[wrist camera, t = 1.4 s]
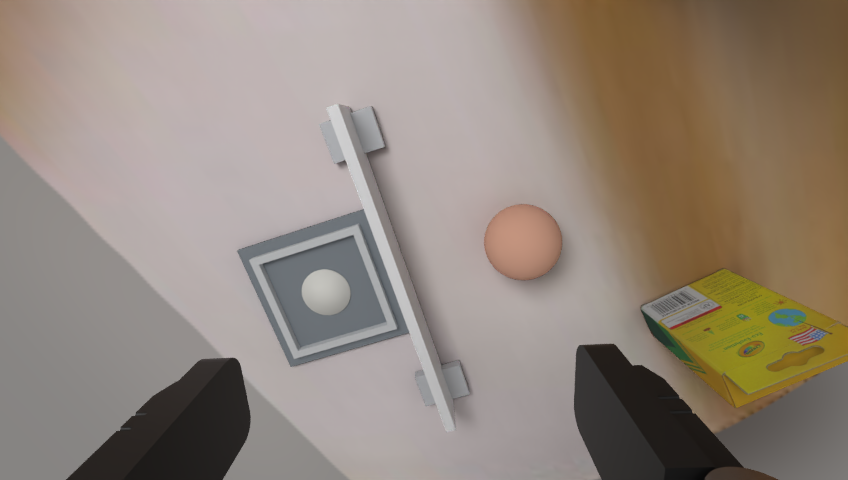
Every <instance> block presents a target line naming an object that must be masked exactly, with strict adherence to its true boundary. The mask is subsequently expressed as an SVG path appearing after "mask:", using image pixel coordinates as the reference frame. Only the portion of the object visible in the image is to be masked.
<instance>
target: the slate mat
mask: <svg viewBox="0 0 848 480" xmlns="http://www.w3.org/2000/svg"><path fill="white" fill-rule="evenodd" d="M237 252H238V254H239V256H240V258H241V260H242V262H243V265H244V267H245V269H246V271H247V273H248V275H249V278H250V280H251V282H252V284H253V286H254V288H255V291H256V293H257V295H258V297H259V299H260V301H261V303H262V306H263V308H264V310H265V312H266V314H267V316H268V319H269V321H270V323H271V325H272V327H273V329H274V332H275V334H276V336H277V338H278V340H279V342H280V345H281V347H282V349H283V351H284V353H285V355H286V358H287V360H288V362H289V364H290V366H291V367H292V366H295V365H299V364H302V363H306V362H309V361H313V360H316V359H320V358H323V357H326V356H330V355H333V354H337V353H340V352H344V351H347V350H351V349H354V348H357V347H361V346H364V345H368V344H371V343H375V342H378V341H382V340H385V339H388V338H392V337H395V336H399V335H402V334H406V333H409V330H408V328H407V325H406V322H405V320H404V317H403V314H402V311H401V309H400V306H399V303H398V301H397V298H396V295H395V293H394V290H393V287H392V284H391V282H390V279H389V276H388V274H387V271H386V268H385V266H384V263H383V260H382V257H381V255H380V252H379V249H378V247H377V244H376V241H375V239H374V236H373V233H372V230H371V228H370V225H369V222H368V220H367V217H366V214H365V212H364V209H363V210H360V211H357V212H353V213H350V214H347V215H344V216H341V217H338V218H335V219H332V220H329V221H326V222H323V223H320V224H316V225H313V226H310V227H307V228H304V229H301V230H298V231H295V232H292V233H289V234H286V235H283V236H279V237H276V238H273V239H270V240H267V241H264V242H261V243H258V244H255V245H252V246H249V247H246V248H242V249H239V250H238V251H237Z"/></svg>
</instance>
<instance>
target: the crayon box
mask: <svg viewBox="0 0 848 480" xmlns="http://www.w3.org/2000/svg"><path fill="white" fill-rule="evenodd" d="M641 311H642V313H643V315H644V318H645V320H646V322H647V324H648V327H649V329H650V331H651V333H652V335H653V336H655V337H656V338H657V339H658V340H659V341H660V342H661V343H663V344H664V345H665V346H666V347H667V348H668V349H669V350H670V351H671V352H673V353H674V354H675V355H676V356H677V357H678V358H679V359H680V360H681V361H683V362H684V363H685V364H686V365H687V366H688V367H689V368H690V369H691V370H692V371H694V372H695V373H696V374H697V375H698V376H699V377H700V378H701V379H703V380H704V381H705V382H706V383H707V384H708V385H709V386H710V387H711V388H713V389H714V390H715V391H716V392H717V393H718V394H719V395H720V396H722V397H723V398H724V399H725V400H726V401H727V402H728V403H729V404H731V405H732V406H733V407H734V408H738V407H740V406H742V405H745V404H747V403H749V402H752V401H754V400H756V399H759V398H761V397H763V396H766V395H768V394H770V393H773V392H775V391H778V390H780V389H782V388H785V387H787V386H790V385H792V384H794V383H796V382H799V381H802V380H804V379H806V378H808V377H811V376H813V375H816V374H818V373H820V372H823V371H825V370H827V369H830V368H832V367H835V366H837V365H839V364H842V363H844V362H846V361H848V327H847V326H845V325H843V324H842V323H840V322H838V321H836V320H834V319H832V318H830V317H828V316H825V315H823V314H821V313H819V312H817V311H815V310H812V309H810V308H808V307H806V306H804V305H802V304H800V303H798V302H795V301H793V300H791V299H789V298H787V297H785V296H782V295H780V294H778V293H776V292H774V291H771V290H769V289H767V288H765V287H763V286H761V285H759V284H756V283H754V282H752V281H750V280H748V279H746V278H744V277H741V276H739V275H737V274H735V273H733V272H731V271H729V270H727V269H724V268H723V269H721V270H718V271H717V272H716V273H714V274H712V275H710V276H707V277H705V278H703V279H701V280H698V281H696V282H694V283H692V284H689V285H687V286H685V287H683V288H680V289H678V290H676V291H674V292H672V293H670V294H667V295H665V296H663V297H661V298H659V299H657V300H655V301H653V302H651V303H648V304H644V305H642V306H641Z"/></svg>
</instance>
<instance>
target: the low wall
mask: <svg viewBox="0 0 848 480" xmlns="http://www.w3.org/2000/svg"><path fill="white" fill-rule="evenodd" d="M326 109H327V112H328V114H329V117H330V120H329V121H326V122H323V123H320V124H319V125H320V128H321V131H322V133H323V136H324V139H325V141H326V144H327V147H328V149H329V152H330V155H331V157H332V160H333V162H334V164H335V163H338V162H341V161H344V160H346V163H347V166H348V168H349V171H350V174H351V176H352V179H353V182H354V185H355V187H356V190H357V193H358V195H359V198H360V201H361V203H362V206H363V209H364V212H365V214H366V217H367V220H368V222H369V225H370V228H371V230H372V233H373V236H374V239H375V241H376V244H377V247H378V249H379V252H380V255H381V257H382V260H383V263H384V266H385V268H386V271H387V274H388V276H389V279H390V282H391V284H392V287H393V290H394V293H395V295H396V298H397V301H398V303H399V306H400V309H401V311H402V314H403V317H404V320H405V322H406V325H407V328H408V330H409V333H410V336H411V338H412V341H413V344H414V347H415V349H416V352H417V355H418V357H419V360H420V363H421V366H422V368H423V370H422V371H418V372H415V379H416V382H417V385H418V387H419V390H420V393H421V395H422V398H423V400H424V403H425V406H429V405H433V404H436V406H437V409H438V411H439V414H440V417H441V420H442V422H443V425H444V428H445V430H446V432H450V431H454V430H456V425H455V414H454V402H453V399H455V398H458V397H462V396H466V395H469V394H470V393H469V388H468V385H467V382H466V379H465V376H464V373H463V370H462V367H461V364H460V361H459V360H457V361H454V362H450V363H447V364H443V365H441V363H440V360H439V357H438V354H437V351H436V348H435V346H434V343H433V340H432V337H431V334H430V332H429V329H428V326H427V323H426V320H425V318H424V315H423V312H422V309H421V306H420V304H419V301H418V298H417V295H416V292H415V289H414V287H413V284H412V281H411V278H410V275H409V273H408V270H407V267H406V264H405V261H404V259H403V256H402V253H401V250H400V247H399V245H398V242H397V239H396V236H395V233H394V231H393V228H392V225H391V222H390V219H389V216H388V214H387V211H386V208H385V205H384V202H383V200H382V197H381V194H380V191H379V188H378V186H377V183H376V180H375V177H374V174H373V172H372V169H371V166H370V163H369V160H368V158H367V155H366V153H368V152H371V151H374V150H377V149H380V148H382V147H385V146H386V145H385V142H384V140H383V137H382V134H381V131H380V128H379V125H378V122H377V119H376V116H375V113H374V110H373V107H372V106H369V107H366V108H363V109H361V110H358V111H355V112H352V113H351V110H350V107H348V106H344V105H340V104H336V105H333V106H330V107H327V108H326Z"/></svg>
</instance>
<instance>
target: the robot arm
mask: <svg viewBox="0 0 848 480" xmlns="http://www.w3.org/2000/svg"><path fill="white" fill-rule="evenodd" d="M574 410H575V417H576V422H577V426H578V429H579V432H580V434H581V436H582V438H583V441H584V443H585V445H586V447H587V449H588V451H589V453H590V456H591V458H592V460H593V462H594V464H595V466H596V468H597V470H598V473H599V475H600V477H601V479H602V480H778V479H776V478H774V477H771V476H769V475H766V474H764V473H761V472H758V471H754V470H751V469H746V468H744V467H743V466H742V465H741V464H740V463H739V462H738V461H737V459H736V458H735V457H734V456H733V455H732V454H731V453H730V452H729V451H728V449H727V448H725V446H724V445H723V444H722V443H721V442H720V441H719V440H718V438H717V437H716V436H715V435H714V434H713V433H712V432H711V431H710V429H709V428H708V427H707V426H706V425H705V424H704V423H703V422H702V421H701V420H700V418H699V417H698V416H697V415H696V414H693V413H692V410H691V408H690V407H689V406H688V405H687V404H686V403H685V402H684V401H683V400H682V399H680V398H679V395H678V394H677V393H676V392H675V391H674V390H673V388H672V387H671V386H670V385H669V384H668V383H667V382H666V381H665V380H664V379H663V378H662V377H660V376H658V375H657V374H655V373H654V372H652V371H650V370H649V369H647V368H645V367H644V366H642V365H634V366H632V365H631V363H630V362H629V361H628V360H627V358H626V357H625V356H624V355H623V354H622V352H621V351H620V350H619V349H618V347H617V346H616V345H614V344H594V345H579V346H578V348H577V353H576V371H575V394H574ZM249 428H250V410H249V405H248V401H247V395H246V390H245V385H244V380H243V375H242V370H241V366H240V363H239V361H238V360H237V359H235V358H217V359H202V360H200V361H198V362H197V363H196V364H195V365H194V366H193V367H192V368H191V369H190V370H189V371H188V372H187V373H186V374H185V375H184V376H183V377H182V378H181V379H180V380H179V381H177V382H175V383H174V384H172V385H170V386H169V387H167V388H165V389H164V390H162V391H160V392H159V393H157V394H156V395H154V396H153V397H152V398H151V399H150V400H149V401H147V402H146V403H145V404H144V405H143V406H142V407H141V408H140V409H139V410H138V411H137V412H136V415H135V416H132V417H131V418H130V419H129V420H128V421H127V422H126V423H125V424H124V425H123V426H121V430H120V431H116V433H114V434H113V435H112V436H111V437H110V438H109V439H108V440H107V441H106V442H105V443H104V444H103V445H102V446H101V447H100V448H99V449H98V450H97V451H95V453H93V454H92V455H91V456H90V457H89V458H88V459H87V460H86V461H85V462H84V463H83V464H82V465H81V466H80V467H79V468H78V469H77V470H76V471H75V472H74V473H73V474H72V475H71V476H70V477H68V479H66V480H223V478H224V476H225V475H226V473H227V471H228V470H229V468H230V466H231V465H232V463H233V461H234V460H235V458H236V456H237V455H238V453H239V451H240V450H241V448H242V446H243V445H244V443H245V441H246V439H247V436H248V433H249Z"/></svg>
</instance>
